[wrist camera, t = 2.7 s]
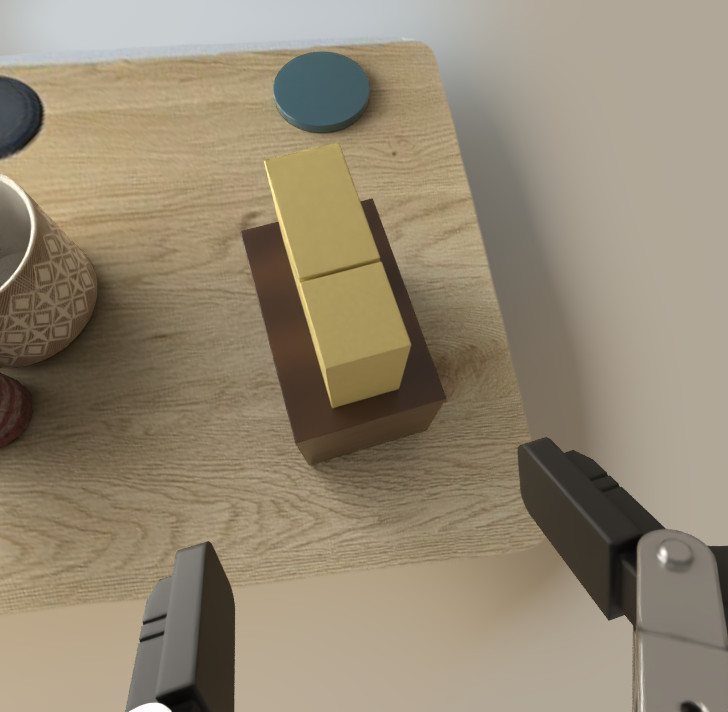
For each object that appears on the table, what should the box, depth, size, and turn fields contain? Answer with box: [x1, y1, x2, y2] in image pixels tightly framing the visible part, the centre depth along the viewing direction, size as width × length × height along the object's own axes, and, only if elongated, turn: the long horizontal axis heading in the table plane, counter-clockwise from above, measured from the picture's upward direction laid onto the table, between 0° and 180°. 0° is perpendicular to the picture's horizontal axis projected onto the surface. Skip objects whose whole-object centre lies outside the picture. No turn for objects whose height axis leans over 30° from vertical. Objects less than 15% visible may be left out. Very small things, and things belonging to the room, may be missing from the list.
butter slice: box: [300, 262, 411, 408], centre depth 30 cm, size 5×4×8 cm
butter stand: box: [240, 199, 446, 465], centre depth 40 cm, size 16×10×10 cm, turn 17°
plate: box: [273, 52, 370, 133], centre depth 54 cm, size 10×10×1 cm
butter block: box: [264, 143, 380, 333], centre depth 32 cm, size 8×4×8 cm, turn 17°
